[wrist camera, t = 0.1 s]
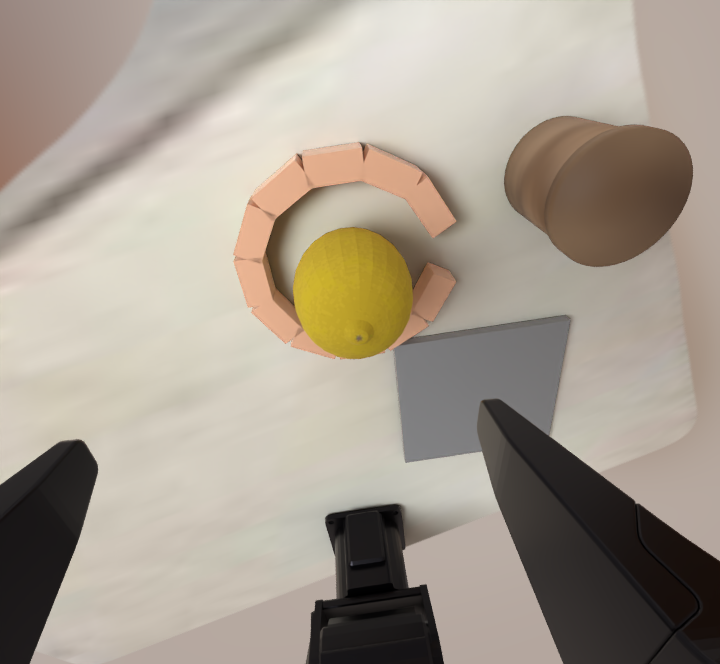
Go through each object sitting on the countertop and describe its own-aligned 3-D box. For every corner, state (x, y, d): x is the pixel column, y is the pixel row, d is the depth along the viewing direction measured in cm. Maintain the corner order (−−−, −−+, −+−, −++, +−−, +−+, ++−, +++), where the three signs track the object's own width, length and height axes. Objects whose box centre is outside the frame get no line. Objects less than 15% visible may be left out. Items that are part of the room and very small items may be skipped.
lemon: (302, 199, 21) (294, 264, 14) (408, 215, 22) (446, 283, 15) (292, 295, 24) (282, 387, 17) (386, 306, 25) (411, 397, 18)
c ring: (449, 328, 26) (455, 342, 25) (270, 355, 26) (267, 370, 25) (448, 128, 20) (456, 133, 18) (212, 164, 20) (204, 171, 18)
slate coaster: (544, 435, 32) (548, 441, 32) (403, 456, 32) (405, 462, 32) (565, 315, 26) (570, 320, 26) (392, 341, 26) (394, 346, 26)
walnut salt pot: (595, 215, 23) (669, 256, 18) (497, 229, 23) (545, 275, 18) (616, 103, 20) (712, 117, 15) (503, 120, 20) (563, 139, 15)
